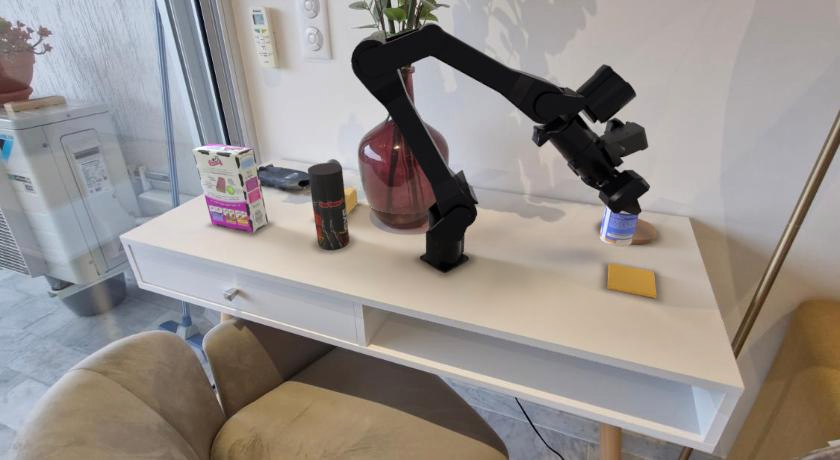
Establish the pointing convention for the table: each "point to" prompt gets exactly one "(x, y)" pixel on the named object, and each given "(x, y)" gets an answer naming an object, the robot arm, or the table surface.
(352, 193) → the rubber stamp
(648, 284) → the mustard cloth
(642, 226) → the cork trivet
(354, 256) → the table surface
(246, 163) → the candy bar box
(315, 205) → the deodorant
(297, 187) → the electronic device
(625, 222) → the pill bottle
